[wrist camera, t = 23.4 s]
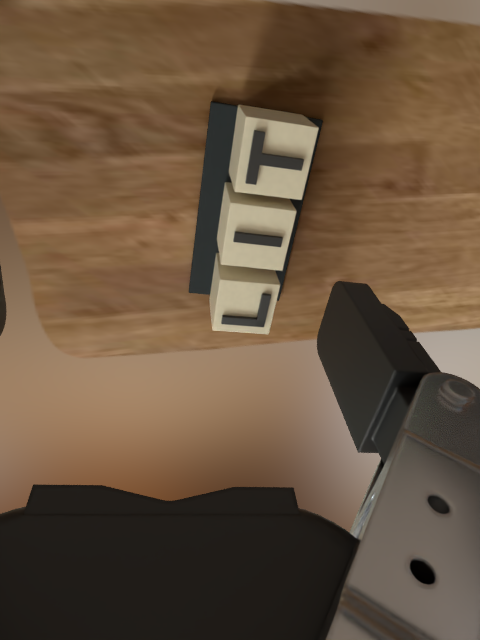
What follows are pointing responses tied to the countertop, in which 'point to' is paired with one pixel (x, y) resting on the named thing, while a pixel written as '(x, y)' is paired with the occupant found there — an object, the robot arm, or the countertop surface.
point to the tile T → (271, 152)
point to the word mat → (212, 195)
